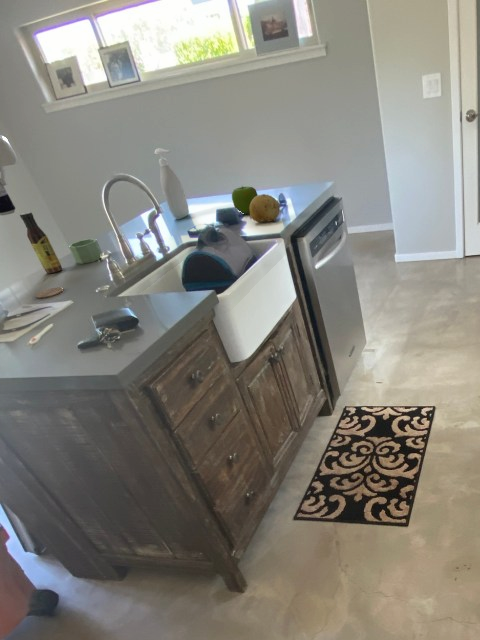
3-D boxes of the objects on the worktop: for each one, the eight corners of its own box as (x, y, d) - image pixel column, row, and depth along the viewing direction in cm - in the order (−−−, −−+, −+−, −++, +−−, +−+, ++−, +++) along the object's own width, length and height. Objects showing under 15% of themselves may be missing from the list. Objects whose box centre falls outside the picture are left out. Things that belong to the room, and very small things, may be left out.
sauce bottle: (58, 273, 195) (28, 214, 182) (43, 275, 196) (11, 216, 182) (66, 267, 200) (37, 210, 187) (51, 269, 201) (21, 212, 187)
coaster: (33, 300, 173) (32, 299, 173) (39, 291, 180) (38, 290, 180) (60, 294, 174) (60, 293, 174) (65, 286, 181) (65, 285, 181)
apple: (233, 217, 229) (225, 189, 222) (243, 211, 237) (235, 183, 230) (255, 215, 227) (248, 187, 219) (265, 209, 234) (258, 181, 227)
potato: (257, 219, 221) (250, 193, 214) (285, 217, 218) (279, 190, 211) (249, 226, 213) (242, 199, 207) (277, 224, 211) (271, 196, 204)
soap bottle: (183, 220, 237) (159, 150, 219) (168, 222, 239) (143, 152, 220) (198, 212, 247) (176, 144, 229) (183, 213, 249) (160, 146, 231)
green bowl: (75, 265, 201) (67, 248, 197) (79, 258, 208) (72, 242, 204) (101, 260, 202) (93, 243, 198) (104, 253, 209) (97, 237, 205)
